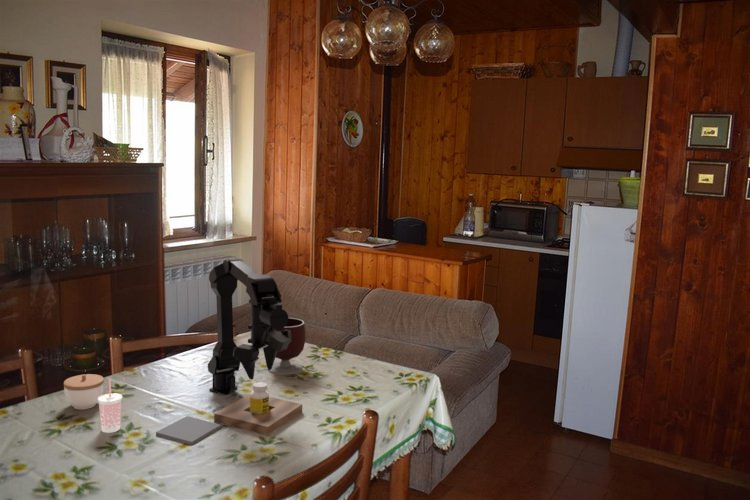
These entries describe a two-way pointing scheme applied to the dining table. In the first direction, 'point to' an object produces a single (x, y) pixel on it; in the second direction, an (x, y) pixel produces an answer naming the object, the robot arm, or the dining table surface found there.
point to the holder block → (258, 415)
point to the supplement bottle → (259, 399)
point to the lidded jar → (83, 390)
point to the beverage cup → (110, 411)
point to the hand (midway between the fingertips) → (260, 374)
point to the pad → (188, 430)
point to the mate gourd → (291, 349)
